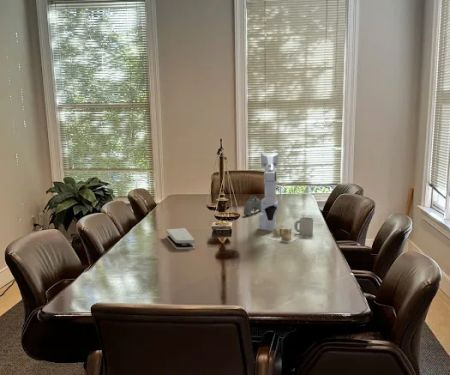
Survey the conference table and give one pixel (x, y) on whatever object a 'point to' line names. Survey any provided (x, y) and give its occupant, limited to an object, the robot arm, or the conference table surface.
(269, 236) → the mat
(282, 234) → the oak block
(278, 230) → the walnut block
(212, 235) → the conference table surface
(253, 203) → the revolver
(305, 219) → the cup
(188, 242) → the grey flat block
